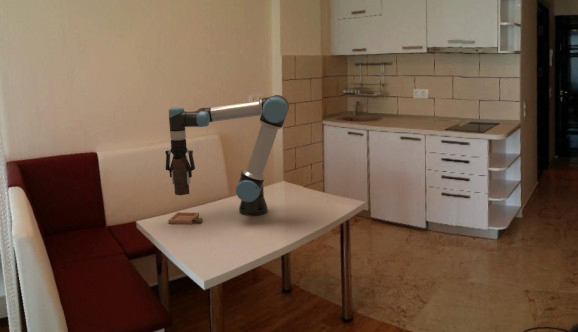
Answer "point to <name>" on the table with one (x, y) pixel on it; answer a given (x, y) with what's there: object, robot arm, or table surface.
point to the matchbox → (197, 220)
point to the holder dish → (183, 218)
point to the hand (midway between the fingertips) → (181, 183)
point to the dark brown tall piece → (180, 176)
